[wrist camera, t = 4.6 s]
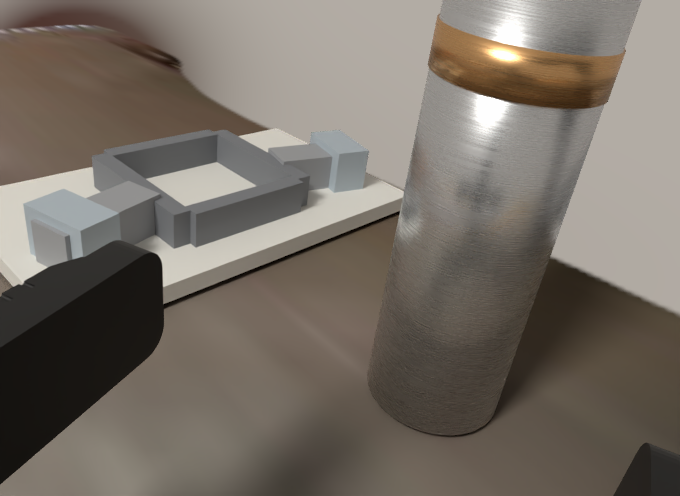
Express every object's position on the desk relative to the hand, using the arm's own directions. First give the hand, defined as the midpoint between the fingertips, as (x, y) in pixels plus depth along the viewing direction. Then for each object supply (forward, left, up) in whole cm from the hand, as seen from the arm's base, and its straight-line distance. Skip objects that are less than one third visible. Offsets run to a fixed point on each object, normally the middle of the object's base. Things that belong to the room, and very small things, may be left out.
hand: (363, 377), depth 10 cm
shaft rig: (+6, -20, -8) cm, 22 cm away
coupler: (-4, -9, -8) cm, 12 cm away
